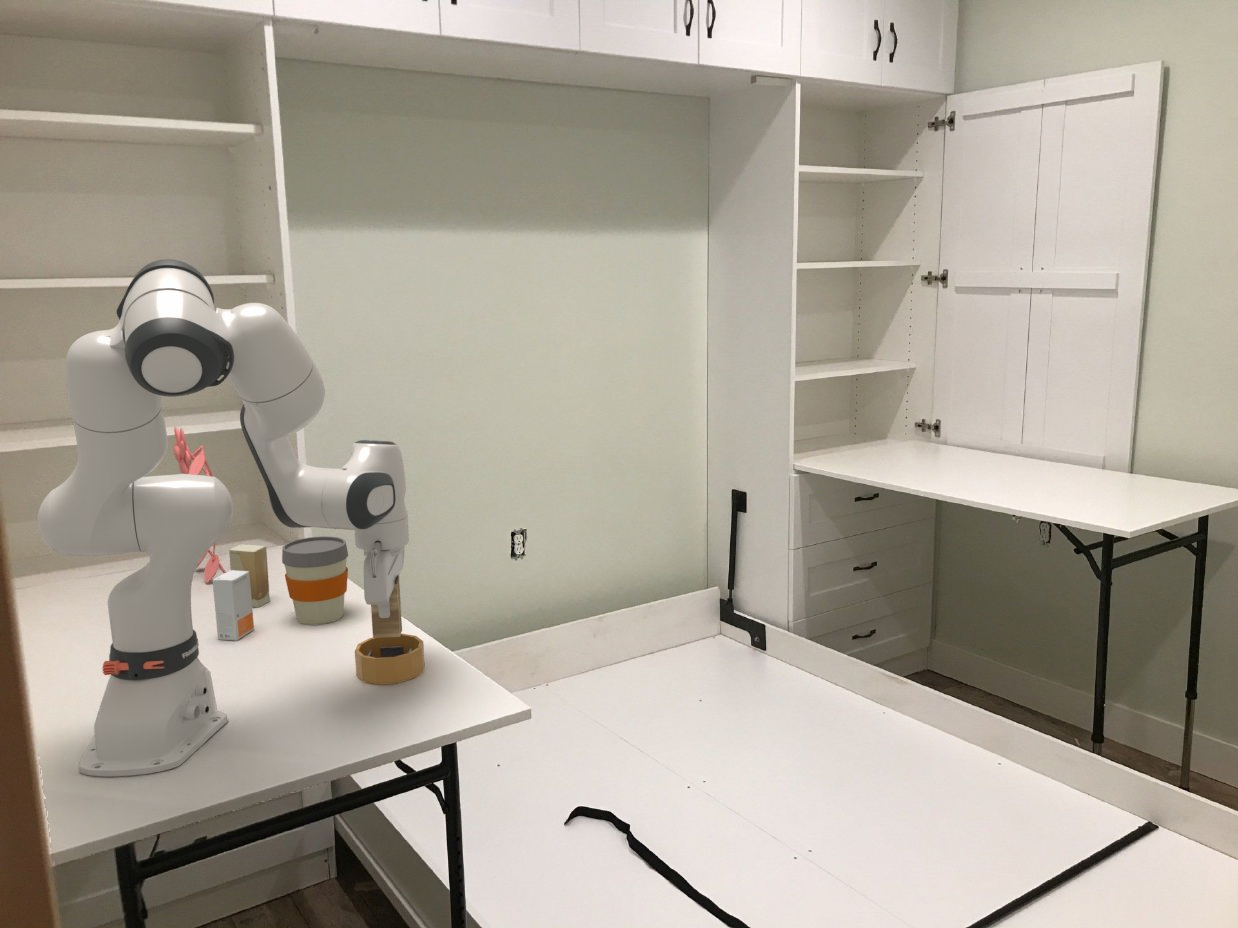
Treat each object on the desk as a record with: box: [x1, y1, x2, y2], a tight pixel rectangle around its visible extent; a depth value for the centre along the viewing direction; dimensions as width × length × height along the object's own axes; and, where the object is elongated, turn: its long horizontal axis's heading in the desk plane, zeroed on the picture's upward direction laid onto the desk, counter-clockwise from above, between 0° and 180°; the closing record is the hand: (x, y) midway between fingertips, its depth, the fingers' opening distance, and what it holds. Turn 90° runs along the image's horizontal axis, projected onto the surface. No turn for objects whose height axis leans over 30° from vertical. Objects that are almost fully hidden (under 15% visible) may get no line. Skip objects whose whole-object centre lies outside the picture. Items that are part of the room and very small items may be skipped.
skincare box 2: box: [212, 569, 255, 642], centre depth 187 cm, size 6×4×12 cm
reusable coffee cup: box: [281, 535, 349, 626], centre depth 195 cm, size 13×13×15 cm
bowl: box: [354, 633, 426, 685], centre depth 169 cm, size 11×11×4 cm
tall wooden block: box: [370, 575, 403, 638], centre depth 167 cm, size 3×4×10 cm, turn 95°
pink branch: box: [173, 426, 227, 584], centre depth 219 cm, size 15×26×35 cm, turn 31°
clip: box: [368, 646, 412, 658], centre depth 169 cm, size 7×9×3 cm
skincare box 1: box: [228, 543, 271, 608], centre depth 204 cm, size 6×4×12 cm
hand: (387, 611), depth 168 cm, fingers closed on tall wooden block, 3 cm apart
